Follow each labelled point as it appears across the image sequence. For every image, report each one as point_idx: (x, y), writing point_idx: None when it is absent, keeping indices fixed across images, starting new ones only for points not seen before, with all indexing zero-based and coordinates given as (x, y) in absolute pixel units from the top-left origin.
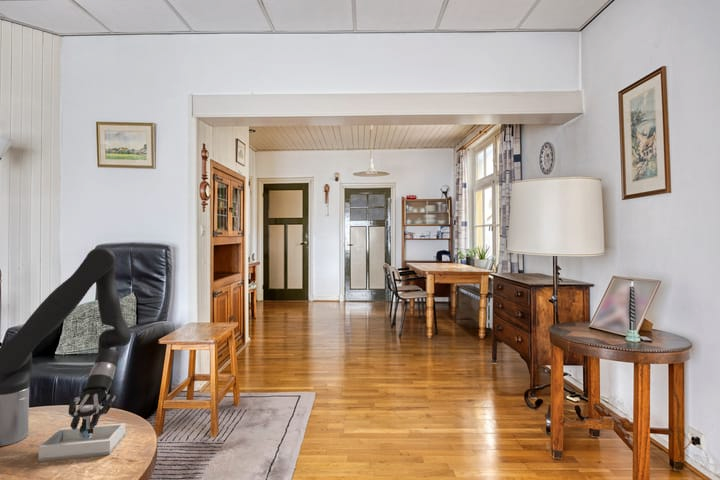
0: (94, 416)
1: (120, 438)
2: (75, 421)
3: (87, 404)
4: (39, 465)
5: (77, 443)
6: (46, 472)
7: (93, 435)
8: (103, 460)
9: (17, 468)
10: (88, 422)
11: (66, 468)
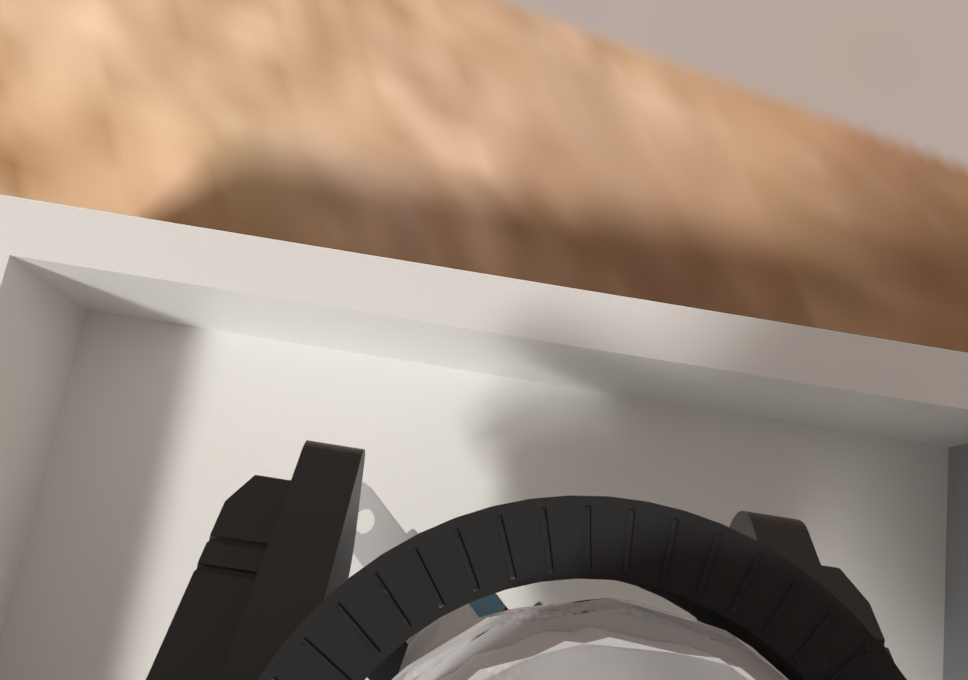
0: (250, 619)
1: None
2: None
3: None
4: (901, 308)
5: (517, 287)
6: (734, 103)
7: None
8: (126, 143)
9: None
10: (437, 628)
11: (534, 111)
